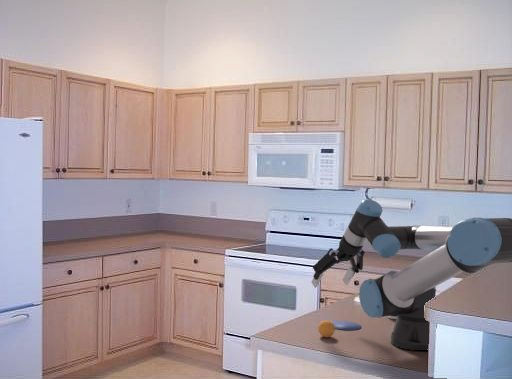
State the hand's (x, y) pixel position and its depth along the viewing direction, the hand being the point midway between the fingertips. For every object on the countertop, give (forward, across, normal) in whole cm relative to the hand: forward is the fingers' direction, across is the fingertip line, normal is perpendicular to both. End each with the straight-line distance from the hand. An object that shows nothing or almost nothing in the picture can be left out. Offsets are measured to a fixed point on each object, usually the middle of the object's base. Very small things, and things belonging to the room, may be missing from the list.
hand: (329, 283), depth 202 cm
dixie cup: (+13, -31, +8) cm, 35 cm away
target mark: (+11, -6, +10) cm, 17 cm away
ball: (+4, +9, +16) cm, 19 cm away
